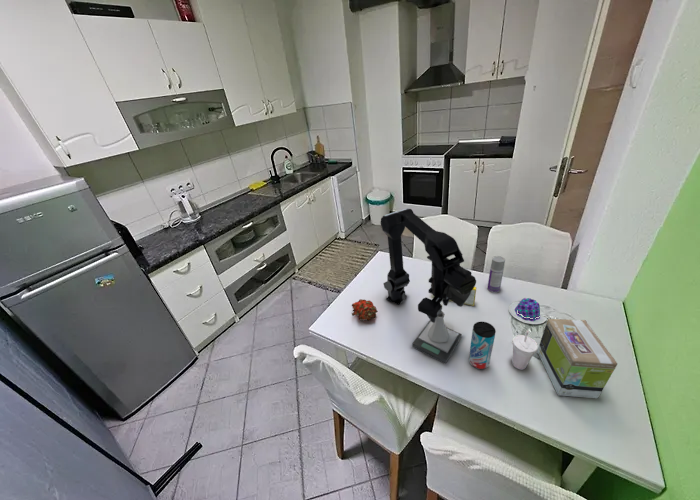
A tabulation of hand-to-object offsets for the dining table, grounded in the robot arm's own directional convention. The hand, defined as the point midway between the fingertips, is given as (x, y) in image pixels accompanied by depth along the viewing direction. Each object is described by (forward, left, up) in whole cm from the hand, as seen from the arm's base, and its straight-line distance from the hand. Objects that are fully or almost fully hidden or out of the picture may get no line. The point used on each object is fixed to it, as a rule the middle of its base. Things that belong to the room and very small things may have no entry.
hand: (439, 313), depth 91 cm
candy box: (-4, +21, -12) cm, 25 cm away
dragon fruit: (-29, -6, -12) cm, 32 cm away
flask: (0, -1, -10) cm, 10 cm away
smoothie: (+24, +4, -12) cm, 28 cm away
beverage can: (+14, -2, -12) cm, 19 cm away
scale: (0, -2, -12) cm, 12 cm away
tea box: (+35, +8, -12) cm, 38 cm away
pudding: (+21, +28, -12) cm, 38 cm away
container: (+7, +36, -12) cm, 39 cm away
